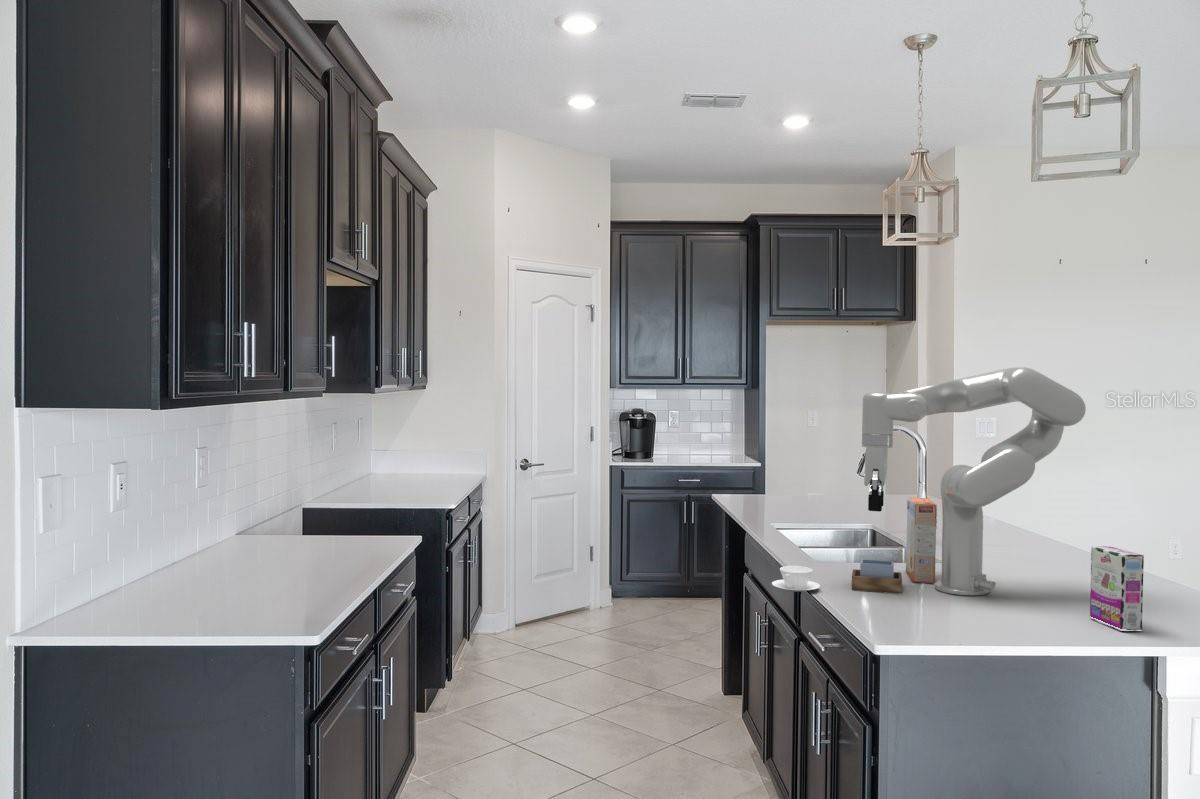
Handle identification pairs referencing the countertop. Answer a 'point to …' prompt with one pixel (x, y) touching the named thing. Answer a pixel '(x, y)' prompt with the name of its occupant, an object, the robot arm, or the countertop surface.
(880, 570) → the slate crate
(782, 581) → the teacup
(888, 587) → the walnut crate
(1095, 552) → the candy bar box
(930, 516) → the cracker box
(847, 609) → the countertop surface
